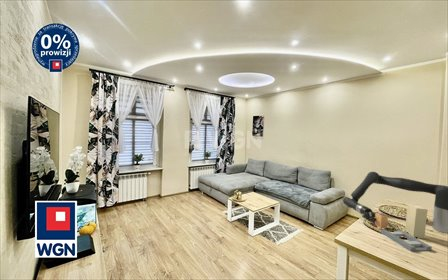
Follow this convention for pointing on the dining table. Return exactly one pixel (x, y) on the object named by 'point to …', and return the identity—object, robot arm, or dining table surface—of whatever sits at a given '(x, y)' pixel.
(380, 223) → the orange block with knob
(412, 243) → the frame
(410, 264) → the dining table surface
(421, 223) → the pale yellow tall block
